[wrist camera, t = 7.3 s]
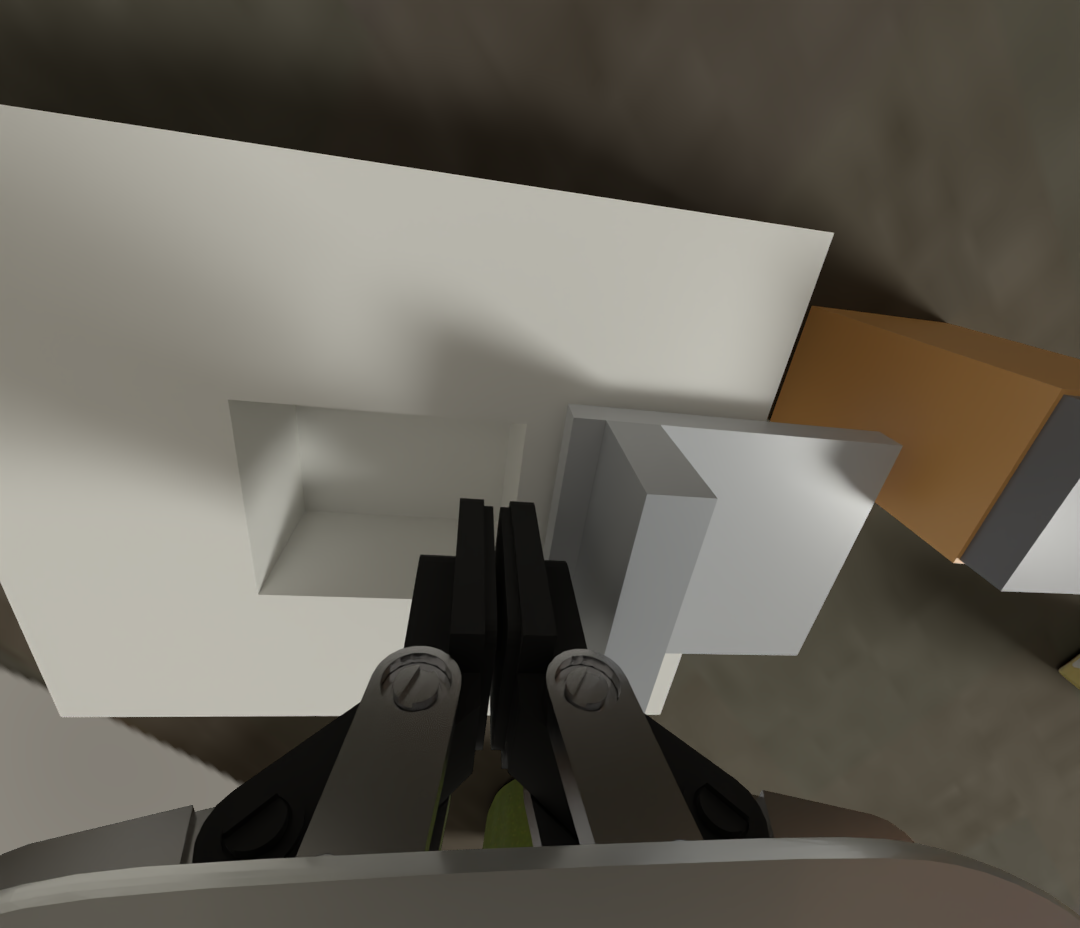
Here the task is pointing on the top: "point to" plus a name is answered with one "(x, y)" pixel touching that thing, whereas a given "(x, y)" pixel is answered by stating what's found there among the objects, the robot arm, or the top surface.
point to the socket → (317, 392)
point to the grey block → (705, 530)
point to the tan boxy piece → (956, 436)
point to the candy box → (1072, 671)
